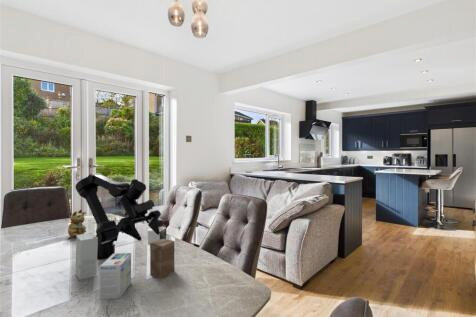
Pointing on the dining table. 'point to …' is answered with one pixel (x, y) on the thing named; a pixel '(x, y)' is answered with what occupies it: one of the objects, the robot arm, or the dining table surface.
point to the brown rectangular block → (162, 258)
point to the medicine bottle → (153, 236)
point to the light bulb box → (115, 275)
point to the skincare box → (86, 255)
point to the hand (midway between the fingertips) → (150, 236)
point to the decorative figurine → (77, 224)
